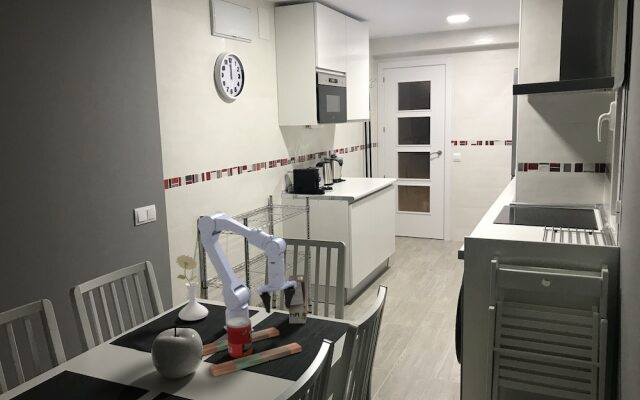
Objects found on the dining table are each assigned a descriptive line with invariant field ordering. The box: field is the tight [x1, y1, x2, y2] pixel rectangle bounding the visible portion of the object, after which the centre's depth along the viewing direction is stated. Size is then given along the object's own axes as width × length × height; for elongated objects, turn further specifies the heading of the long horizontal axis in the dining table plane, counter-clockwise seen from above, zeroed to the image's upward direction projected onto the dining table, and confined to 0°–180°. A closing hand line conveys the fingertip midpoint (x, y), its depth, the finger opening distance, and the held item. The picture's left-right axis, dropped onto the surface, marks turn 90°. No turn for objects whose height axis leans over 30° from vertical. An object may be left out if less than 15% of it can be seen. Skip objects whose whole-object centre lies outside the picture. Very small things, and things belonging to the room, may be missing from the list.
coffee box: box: [287, 274, 308, 324], centre depth 198 cm, size 9×6×16 cm
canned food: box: [226, 317, 253, 359], centre depth 170 cm, size 8×8×11 cm
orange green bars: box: [202, 327, 303, 377], centre depth 172 cm, size 20×30×2 cm, turn 122°
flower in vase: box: [175, 254, 209, 322], centre depth 202 cm, size 13×11×25 cm
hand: (277, 310), depth 183 cm, fingers open, 7 cm apart
